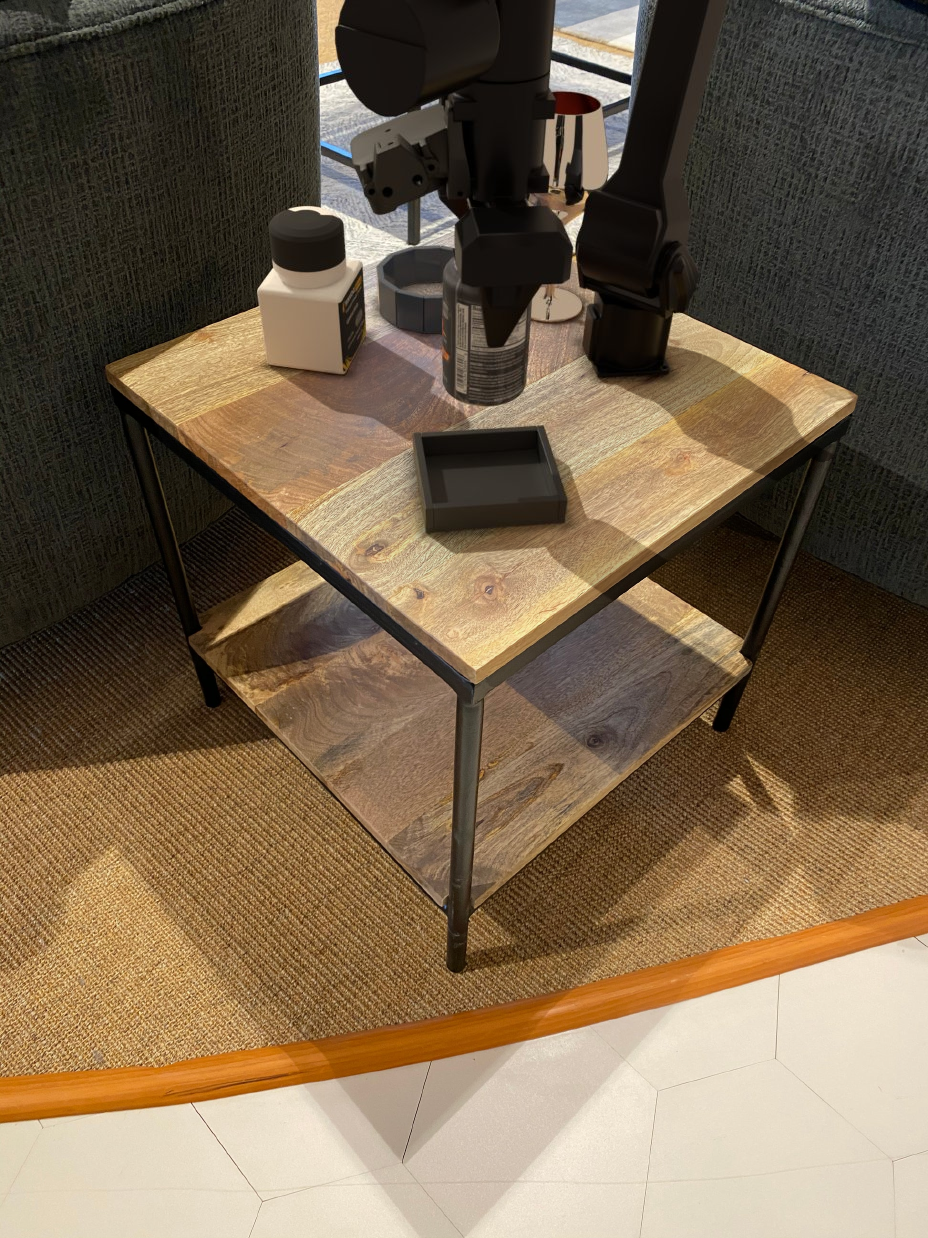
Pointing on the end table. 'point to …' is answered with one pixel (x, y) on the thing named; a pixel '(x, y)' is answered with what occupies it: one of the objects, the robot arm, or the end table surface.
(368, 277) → the end table surface
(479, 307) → the pill bottle
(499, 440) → the tray
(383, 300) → the bowl
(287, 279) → the medicine bottle
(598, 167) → the wineglass
